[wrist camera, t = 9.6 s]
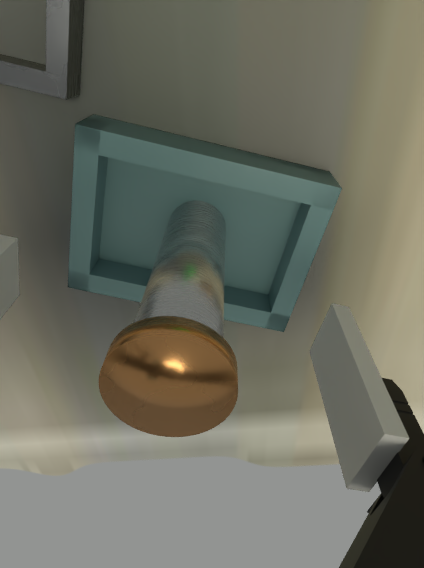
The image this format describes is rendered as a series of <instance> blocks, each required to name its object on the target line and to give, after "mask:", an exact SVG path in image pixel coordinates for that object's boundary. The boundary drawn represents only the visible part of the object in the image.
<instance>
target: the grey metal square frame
mask: <svg viewBox="0 0 424 568" xmlns="http://www.w3.org/2000/svg"><path fill="white" fill-rule="evenodd" d="M83 13H84V0H46V65H42V64H38V63H34V62H30V61H26V60H22V59H18V58H14V57H10V56H6V55H2V54H0V83H1V84H5V85H9V86H13V87H17V88H21V89H25V90H29V91H33V92H37V93H41V94H45V95H50V96H54V97H58V98H62V99H66V100H67V99H69V98H72V97H75V96H78V95H80V75H81V54H82V34H83Z"/></svg>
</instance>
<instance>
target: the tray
mask: <svg viewBox="0 0 424 568" xmlns="http://www.w3.org/2000/svg"><path fill="white" fill-rule="evenodd" d="M341 189H342V188H341V186H340V185H339V184H338V182H337V181H336V180H335V178H334V177H333V176H332V174H331V173H330V172H329V171H325V170H320V169H316V168H312V167H308V166H304V165H300V164H296V163H292V162H287V161H283V160H279V159H275V158H271V157H267V156H263V155H259V154H255V153H250V152H246V151H242V150H238V149H234V148H230V147H226V146H222V145H218V144H213V143H209V142H205V141H201V140H197V139H193V138H189V137H185V136H181V135H176V134H172V133H168V132H164V131H160V130H156V129H152V128H148V127H143V126H139V125H135V124H131V123H127V122H123V121H119V120H115V119H111V118H106V117H102V116H98V115H94V114H93V115H91V116H90V117H88V118H86V119H84V120H82V121H80V122H79V123H77V124H75V142H74V164H73V186H72V208H71V230H70V252H69V274H68V287H69V288H74V289H79V290H84V291H89V292H93V293H98V294H103V295H108V296H113V297H118V298H122V299H127V300H132V301H137V302H141V301H142V298H143V295H144V292H145V289H146V286H147V284H148V281H149V278H150V275H151V272H152V269H153V266H154V263H155V260H156V257H157V254H158V251H159V248H160V245H161V242H162V239H163V237H164V234H165V231H166V228H167V225H168V222H169V219H170V216H171V214H172V213H173V211H174V210H175V209H176V208H177V207H178V206H180V205H181V204H183V203H185V202H188V201H195V200H197V201H204V202H207V203H209V204H211V205H213V206H214V207H216V208H217V209H218V210H219V211H220V213H221V214H222V216H223V218H224V220H225V225H226V237H225V280H224V320H229V321H233V322H238V323H243V324H248V325H253V326H258V327H262V328H267V329H272V330H277V331H282V332H284V330H285V328H286V325H287V323H288V320H289V318H290V315H291V313H292V310H293V308H294V306H295V303H296V301H297V298H298V296H299V293H300V291H301V288H302V286H303V283H304V281H305V278H306V276H307V273H308V271H309V268H310V266H311V264H312V261H313V259H314V256H315V254H316V251H317V249H318V246H319V244H320V241H321V239H322V236H323V234H324V231H325V229H326V226H327V224H328V222H329V219H330V217H331V214H332V212H333V209H334V207H335V204H336V202H337V199H338V197H339V194H340V192H341Z"/></svg>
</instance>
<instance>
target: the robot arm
mask: <svg viewBox="0 0 424 568" xmlns="http://www.w3.org/2000/svg"><path fill="white" fill-rule="evenodd" d="M19 295H20V290H19V258H18V238H15V237H10V236H5V235H1V234H0V319H1V318H2V317H3V315H4V314H5V313H6V311H7V310H8V309H9V308H10V306H11V305H12V304H13V303H14V301H15V300H16V299H17V298H18V296H19ZM310 355H311V358H312V362H313V366H314V369H315V373H316V377H317V381H318V384H319V388H320V392H321V395H322V399H323V403H324V406H325V410H326V414H327V417H328V421H329V425H330V429H331V432H332V436H333V440H334V443H335V447H336V451H337V454H338V458H339V462H340V465H341V469H342V473H343V477H344V480H345V484H346V488H347V489H353V490H359V491H365V492H369V491H370V490H371V489H372V487H373V486H374V485H375V484H376V482H377V481H378V484H379V487H380V490H381V494H380V496H379V497H378V498H377V499H376V501H375V502H374V503H373V505H372V506H371V507H370V508H369V510H368V511H367V512H368V513H369V514H368V516H367V518H366V520H365V521H364V523H363V525H362V527H361V529H360V531H359V532H358V534H357V536H356V538H355V539H354V541H353V543H352V545H351V547H350V548H349V550H348V552H347V554H346V556H345V558H344V559H343V561H342V563H341V565H340V567H339V568H424V434H423V432H422V430H421V428H420V426H419V424H418V422H417V420H416V418H415V416H414V415H413V412H412V410H411V408H410V406H409V405H408V402H407V400H406V398H405V396H404V394H403V392H402V390H401V389H400V388H399V387H398V386H397V385H396V384H395V383H394V382H393V381H392V380H390V379H385V378H381V376H380V373H379V371H378V369H377V367H376V365H375V363H374V360H373V358H372V356H371V354H370V352H369V350H368V347H367V345H366V343H365V341H364V339H363V336H362V334H361V332H360V330H359V328H358V326H357V323H356V321H355V319H354V317H353V315H352V313H351V310H350V308H349V307H348V306H343V305H338V304H333V303H332V304H331V306H330V308H329V310H328V313H327V315H326V317H325V319H324V321H323V323H322V325H321V328H320V330H319V332H318V334H317V336H316V338H315V340H314V343H313V345H312V347H311V349H310Z"/></svg>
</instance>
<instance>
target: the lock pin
mask: <svg viewBox="0 0 424 568" xmlns="http://www.w3.org/2000/svg"><path fill="white" fill-rule="evenodd" d="M225 237H226V225H225V220H224V218H223V216H222V214H221V213H220V211H219V210H218V209H217V208H216V207H214V206H213V205H211V204H209V203H207V202H204V201H197V200H195V201H188V202H185V203H183V204H181V205H180V206H178V207H177V208H176V209H175V210H174V211H173V213H172V214H171V216H170V219H169V222H168V225H167V228H166V231H165V234H164V237H163V239H162V242H161V245H160V248H159V251H158V254H157V257H156V260H155V263H154V266H153V269H152V272H151V275H150V278H149V281H148V284H147V286H146V289H145V292H144V295H143V298H142V301H141V304H140V307H139V310H138V313H137V316H136V319H135V322H134V323H133V324H131V325H129V326H128V327H126V328H125V329H123V330H122V331H121V332H120V333H119V334H118V335H117V336H116V337H115V338H114V340H113V342H112V343H111V345H110V348H109V350H108V353H107V356H106V358H105V361H104V363H103V366H102V368H101V371H100V375H99V389H100V393H101V396H102V398H103V400H104V402H105V404H106V405H107V407H108V408H109V409H110V410H111V411H112V413H113V414H114V415H115V416H117V417H118V418H119V419H120V420H122V421H123V422H125V423H126V424H128V425H130V426H131V427H133V428H135V429H138V430H140V431H143V432H146V433H149V434H154V435H158V436H166V437H184V436H191V435H196V434H200V433H203V432H206V431H208V430H210V429H212V428H214V427H216V426H217V425H219V424H220V423H221V422H223V421H224V420H225V419H226V418H227V417H228V416H229V415H230V413H231V412H232V410H233V408H234V406H235V404H236V401H237V396H238V374H237V361H236V358H235V355H234V353H233V350H232V349H231V347H230V346H229V344H228V343H227V342H226V340H225V339H224V338H223V323H224V280H225Z"/></svg>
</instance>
